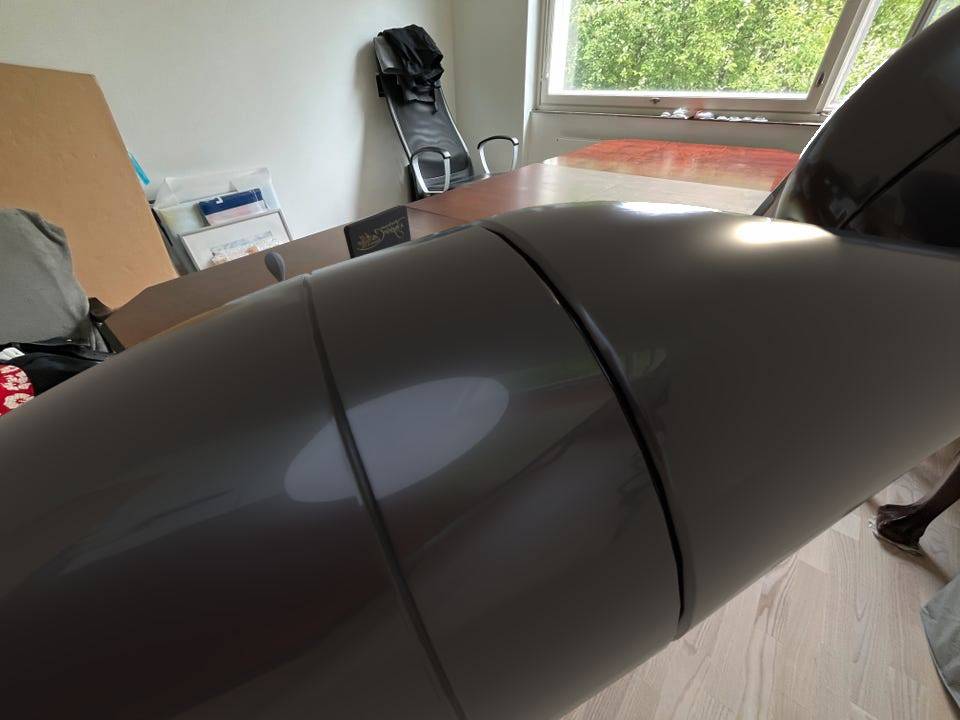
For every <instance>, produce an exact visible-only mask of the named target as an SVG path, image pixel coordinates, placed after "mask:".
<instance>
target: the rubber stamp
mask: <svg viewBox="0 0 960 720" xmlns="http://www.w3.org/2000/svg"><path fill="white" fill-rule="evenodd" d="M263 260H264V265H265V267H266V269H267V270H268V272H269V273H270V274H271V275H272V276H273V277H274V278H275V279H276V280H277V283H278V282H281V281H284V280H286V277H285V276H286V264H285V260H284V258H283V257H282V255H281V254H279V253H278V252H275V251H269V252H268V253H266V254H265V256H264V257H263Z"/></svg>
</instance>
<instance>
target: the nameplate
mask: <svg viewBox="0 0 960 720" xmlns="http://www.w3.org/2000/svg"><path fill="white" fill-rule="evenodd" d="M343 234H344V238H345V243H346V246H347V250H348V254H349V257H350V259H353V258H356V257H360V256H363V255H366V254H369V253H373V252H376V251H379V250H382V249H386V248H389V247H392V246H395V245H398V244H402V243H405V242H408V241H411V240H412V236H411V235H412V234H411V228H410V221H409V215H408V209H407V207H406V205H401V204H399V205H395V206H393V207H390V208H388V209H385V210H383V211H380V212H378V213H375V214H373V215H370V216H367V217H364V218H362V219H359V220H357V221H354V222H351V223H349V224H347V225H344V227H343Z"/></svg>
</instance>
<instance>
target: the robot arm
mask: <svg viewBox="0 0 960 720" xmlns="http://www.w3.org/2000/svg"><path fill="white" fill-rule="evenodd" d="M959 438H960V4H958V5H957V6H955V7H953V8H951V9H949V11H947V12H946V13H944V14H943V15H941V16H940V17H938V18H937V19H935V20H934V21H933V22H931V23H930V24H928V25H927V26H926V27H925V28H923V29H921V30H920V31H919V32H918V33H916V34H914V36H913V37H911V38H910V39H908V40H907V41H906V42H905V43H904V44H902V45H901V46H900V47H899V48H897V50H894V52H893V53H892V54H890V55H889V56H888V57H887V58H886V59H884V60H883V61H882V62H881V63H880V64H878V66H876V68H875V69H873V70H872V71H871V72H870V73H869V74H868V75H867V76H866V77H865V78H864V79H862V81H861V82H860V83H859V84H858V85H857V86H856V87H855V88H853V90H852V91H850V92H849V93H848V95H847V96H845V98H844V99H843V100H842V101H841V102H840V103H839V104H838V105H837V106H836V108H835V109H834V110H833V111H832V112H831V114H830V115H828V117H827V118H826V119H825V120H824V122H823V124H822V125H821V126H820V127H819V129H818V130H817V131H816V133H815V134H814V136H813V137H812V138H811V140H810V141H809V142H808V144H807V145H806V147H804V149H803V150H802V152H801V154H800V156H799V158H798V160H797V161H796V163H795V165H794V166H793V169H792V170H791V172H790V173H789V176H788V178H787V180H786V182H785V185H784V188H783V190H782V193H781V195H780V198H779V201H778V204H777V208H776V211H775V216H774V217H767V216H761V215H753V214H747V213H740V212H733V211H726V210H720V209H713V208H707V207H699V206H692V205H683V204H671V203H655V202H642V201H641V202H640V201H626V200H625V201H624V200H601V199H599V200H585V201H583V200H582V201H568V202H567V201H566V202H553V203H545V204H539V205H532V206H527V207H522V208H518V209H515V210H510V211H505V212H501V213H497V214H494V215H491V216H486V217H483V218H480V219H476V220H473V221H471V222H469V223H463V224H460V225H457V226H453V227H450V228H447V229H444V230H441V231H438V232H434V233H431V234H428V235H425V236H421V237H419V238H415V239H411V240H410V241H408V242H405V243H402V244H398V245H395V246H392V247H389V248H386V249H382V250H379V251H376V252H373V253H369V254H366V255H363V256H360V257H356V258H353V259H351V258H350V259H347V260H343V261H341V262H338V263H333V264H331V265H328V266H325V267H324V266H323V267H321V268H318V269H317V268H316V269H314V270H312V271H311V273H302V274H298V275H295V276H292V277H290V278H287V279H285V280H284V281H281V282H278V281H277V282H274V283H272V284H270V285H267V286H264V287H262V288H261V287H260V288H259V289H256V290H253V291H252V292H249V293H246V294H244V295H241V296H238V297H236V298H234V299H231V300H228V301H225V302H224V303H221V304H219V305H217V306H214V307H212V308H209V309H207V310H205V311H203V312H200V313H198V314H196V315H193V316H192V317H190V318H187V319H185V320H183V321H181V322H179V323H177V324H175V325H173V326H170V327H169V328H167V329H165V330H162V331H160V332H158V333H157V334H154V335H152V336H150V337H148V338H146V339H144V340H142V341H140V342H137V344H135V345H133V346H131V347H128V348H127V349H125V350H122V351H120V352H119V353H117V354H115V355H112V356H110V357H108V358H106V359H105V360H103V361H100V362H99V363H96V364H95V365H93V366H91V367H89V368H87V369H85V370H83V371H81V372H79V373H77V374H75V375H74V376H72V377H70V378H68V379H66V380H64V381H62V382H60V383H58V384H56V385H55V386H53V387H51V388H49V389H48V390H46V391H44V392H42V393H39V394H38V395H36V396H35V397H32V398H31V399H29V400H27V401H25V402H23V403H22V404H20V405H18V406H16V407H14V408H13V409H11V410H9V411H8V412H5V413H4V414H3V415H1V416H0V720H561V719H562V718H564V717H566V716H567V715H568V714H570V713H571V712H573V711H574V710H576V709H577V708H579V707H581V705H583V704H585V703H586V702H588V701H589V700H591V699H592V698H594V697H595V696H597V695H598V694H600V693H601V692H603V691H605V690H606V689H607V688H609V687H610V686H612V685H613V684H614V683H616V682H617V681H619V680H621V679H622V678H623V677H625V676H627V675H628V674H630V673H631V672H632V671H634V670H635V669H637V668H638V667H639V666H642V665H643V664H644V663H646V662H648V661H649V660H650V659H652V658H653V657H655V656H656V655H658V654H659V653H661V652H662V651H664V650H665V649H667V648H668V647H669V645H670V644H671V643H673V642H676V641H678V640H680V639H681V638H683V637H684V636H685V635H687V634H688V633H689V632H690V631H692V630H693V629H695V628H696V627H698V626H699V625H700V624H702V623H703V622H704V621H705V620H707V619H708V618H709V617H711V616H712V615H713V614H715V613H716V612H718V611H719V610H720V609H722V608H723V607H724V606H725V605H727V604H728V603H730V602H731V601H733V599H734V598H736V597H738V596H739V595H740V594H741V593H743V592H744V591H745V590H747V589H748V588H749V587H751V586H752V585H754V584H755V583H756V582H758V581H759V580H760V579H761V578H763V577H764V576H766V575H767V574H768V573H770V572H771V571H772V570H774V569H775V568H777V567H778V566H779V565H780V564H782V563H783V562H784V561H786V560H788V559H790V557H792V556H793V555H795V554H796V553H797V552H799V551H800V550H801V549H803V548H805V546H807V545H808V544H809V543H811V542H812V541H813V540H815V539H816V538H818V537H819V536H820V535H822V534H823V533H825V532H826V531H827V530H828V529H830V528H831V527H833V526H834V525H836V524H837V523H838V522H840V521H841V520H843V519H844V518H845V517H846V516H848V515H849V514H851V513H852V512H853V511H856V509H858V508H859V507H861V506H863V505H864V504H865V503H866V502H868V501H869V500H871V499H872V498H873V497H875V496H876V495H878V494H879V493H880V492H882V491H883V490H885V489H886V488H888V487H889V486H890V485H892V484H893V483H894V482H896V481H897V480H899V479H900V478H901V477H903V476H904V475H906V474H907V473H909V472H910V471H912V470H913V469H915V468H917V466H919V465H920V464H922V463H923V462H925V460H927V459H928V458H930V457H931V456H933V455H934V454H936V453H937V452H938V451H940V450H942V449H943V448H945V447H946V446H949V444H952V443H953V442H955V441H956V440H958V439H959Z"/></svg>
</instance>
